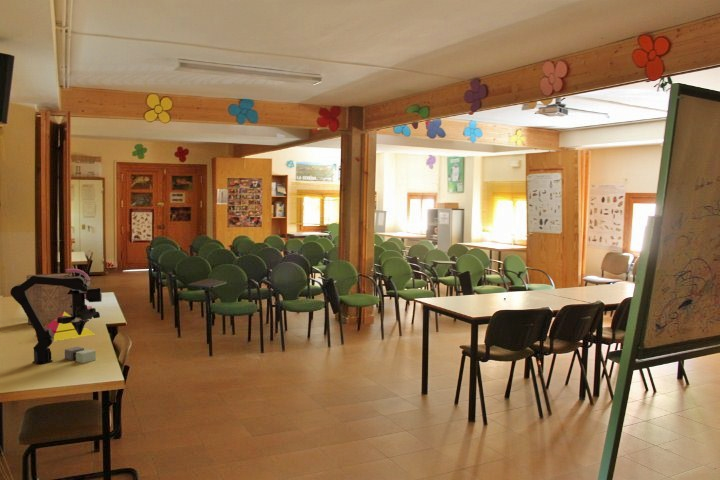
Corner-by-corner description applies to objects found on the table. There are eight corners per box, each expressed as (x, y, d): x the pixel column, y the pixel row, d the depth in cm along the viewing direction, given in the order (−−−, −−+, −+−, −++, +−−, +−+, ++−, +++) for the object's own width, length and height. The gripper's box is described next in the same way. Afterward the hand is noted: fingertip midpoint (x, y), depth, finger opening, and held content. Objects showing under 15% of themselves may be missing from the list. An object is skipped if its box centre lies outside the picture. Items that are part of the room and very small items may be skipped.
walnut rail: (83, 361, 283) (83, 356, 282) (71, 358, 288) (71, 353, 288) (89, 360, 285) (89, 354, 285) (77, 357, 290) (77, 352, 290)
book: (27, 325, 365) (26, 276, 363) (28, 322, 373) (26, 275, 371) (73, 321, 377) (71, 274, 375) (72, 318, 385) (71, 272, 383)
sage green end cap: (76, 361, 283) (75, 352, 282) (89, 358, 288) (88, 349, 288) (82, 363, 280) (82, 353, 279) (95, 360, 285) (95, 350, 285)
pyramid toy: (96, 335, 339) (96, 310, 339) (50, 343, 321) (49, 317, 320) (78, 329, 356) (77, 305, 355) (33, 336, 338) (32, 311, 337)
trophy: (91, 308, 419) (90, 266, 417) (91, 312, 404) (89, 269, 402) (60, 310, 412) (58, 268, 410) (58, 315, 396) (56, 270, 394)
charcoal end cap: (84, 357, 290) (83, 348, 290) (71, 360, 285) (71, 351, 285) (77, 355, 293) (77, 346, 293) (64, 358, 288) (64, 349, 287)
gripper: (69, 307, 272) (70, 340, 273) (106, 301, 288) (107, 333, 289) (56, 305, 278) (57, 337, 280) (92, 299, 294) (93, 330, 295)
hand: (79, 334), depth 286 cm, fingers closed
